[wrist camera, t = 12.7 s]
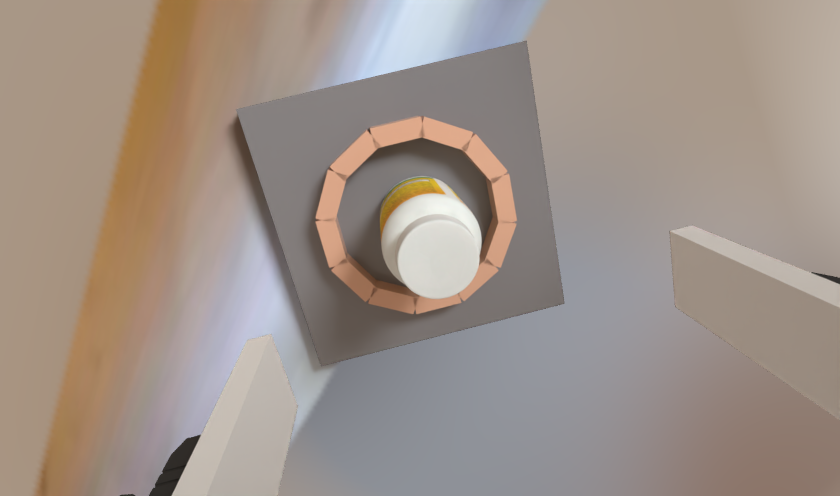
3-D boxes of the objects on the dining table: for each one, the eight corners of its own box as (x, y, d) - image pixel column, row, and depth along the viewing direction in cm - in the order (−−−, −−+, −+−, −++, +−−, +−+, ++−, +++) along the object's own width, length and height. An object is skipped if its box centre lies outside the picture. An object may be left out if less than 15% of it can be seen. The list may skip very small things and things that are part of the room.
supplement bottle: (473, 196, 32) (516, 235, 23) (436, 266, 34) (462, 329, 25) (400, 160, 31) (414, 186, 22) (364, 233, 32) (364, 287, 23)
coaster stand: (519, 43, 31) (534, 37, 29) (556, 295, 37) (572, 312, 34) (241, 108, 31) (229, 109, 28) (322, 355, 36) (319, 377, 33)
